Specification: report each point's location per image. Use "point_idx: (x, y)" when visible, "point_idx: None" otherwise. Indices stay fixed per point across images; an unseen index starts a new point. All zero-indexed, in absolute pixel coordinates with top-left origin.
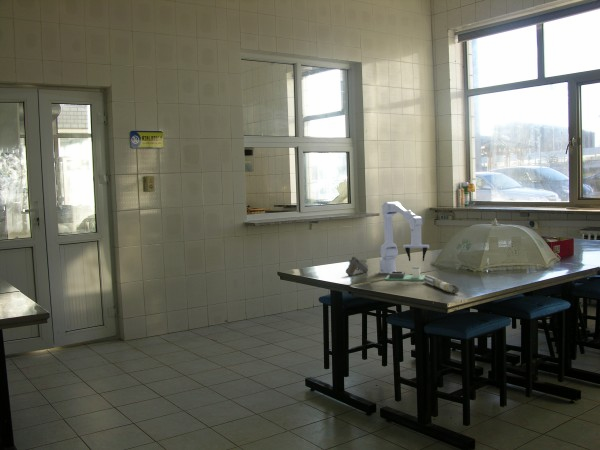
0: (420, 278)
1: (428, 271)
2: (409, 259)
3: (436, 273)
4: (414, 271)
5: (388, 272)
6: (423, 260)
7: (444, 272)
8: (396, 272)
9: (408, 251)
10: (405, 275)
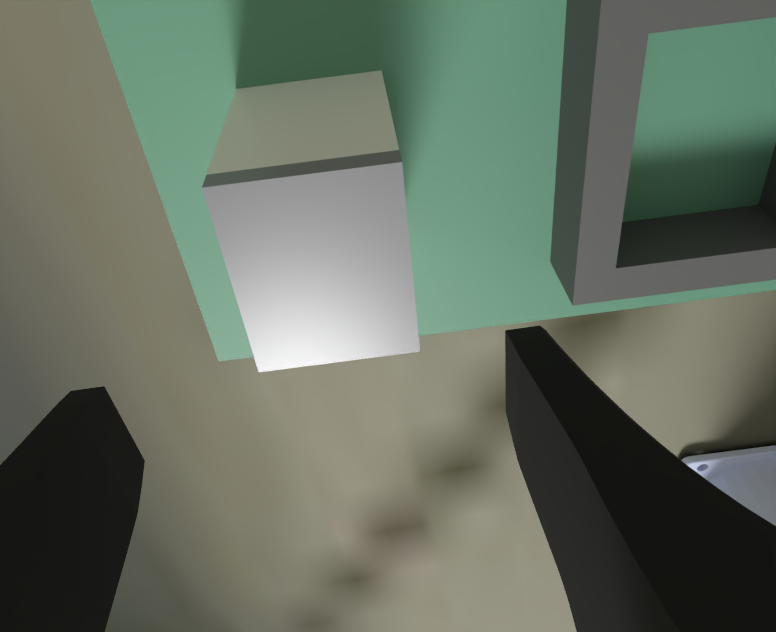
0: (194, 24)
1: (315, 620)
2: (541, 352)
3: (189, 562)
4: (340, 126)
5: (770, 459)
6: (66, 402)
7: (130, 615)
8: (725, 245)
9: (734, 604)
10: (540, 283)
